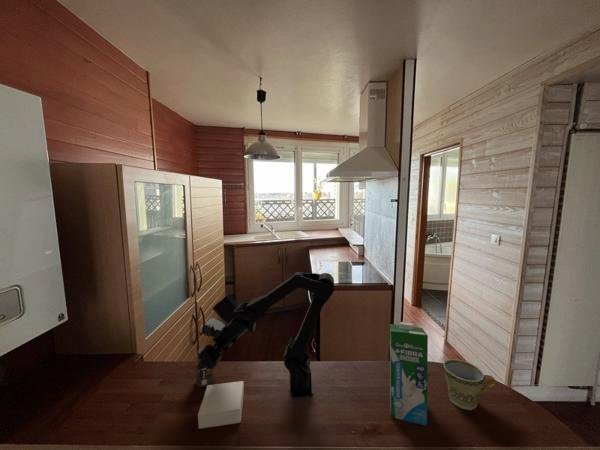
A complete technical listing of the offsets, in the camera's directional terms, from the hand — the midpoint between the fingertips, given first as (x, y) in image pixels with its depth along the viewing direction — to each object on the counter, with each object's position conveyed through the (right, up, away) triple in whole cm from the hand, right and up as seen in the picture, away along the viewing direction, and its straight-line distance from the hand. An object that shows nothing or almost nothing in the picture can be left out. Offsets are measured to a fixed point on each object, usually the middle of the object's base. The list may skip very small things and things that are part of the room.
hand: (204, 359), depth 82 cm
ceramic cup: (+83, -7, -11) cm, 84 cm away
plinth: (+10, -8, -11) cm, 17 cm away
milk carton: (+64, -7, -13) cm, 65 cm away
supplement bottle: (0, -8, +1) cm, 8 cm away
